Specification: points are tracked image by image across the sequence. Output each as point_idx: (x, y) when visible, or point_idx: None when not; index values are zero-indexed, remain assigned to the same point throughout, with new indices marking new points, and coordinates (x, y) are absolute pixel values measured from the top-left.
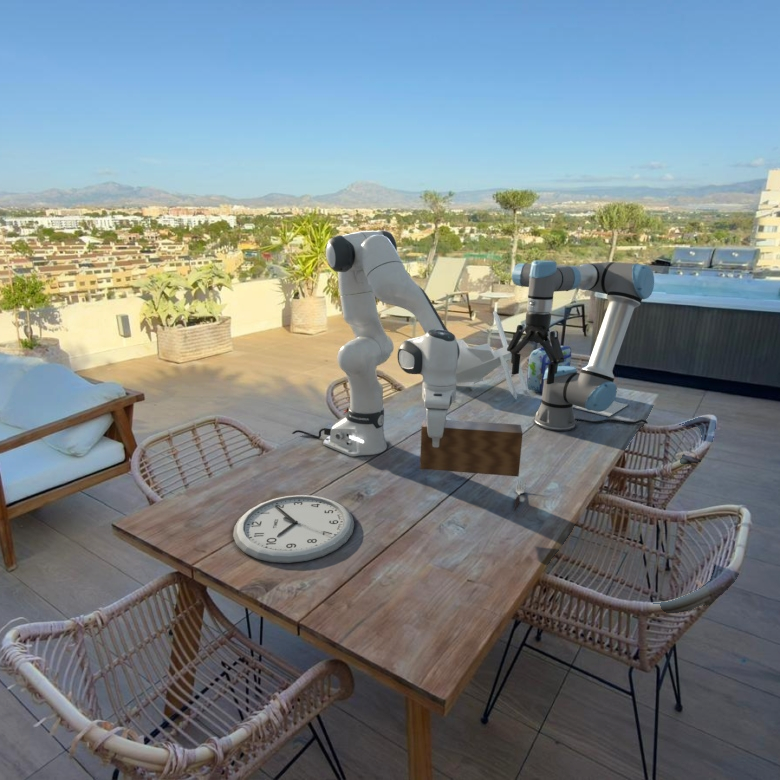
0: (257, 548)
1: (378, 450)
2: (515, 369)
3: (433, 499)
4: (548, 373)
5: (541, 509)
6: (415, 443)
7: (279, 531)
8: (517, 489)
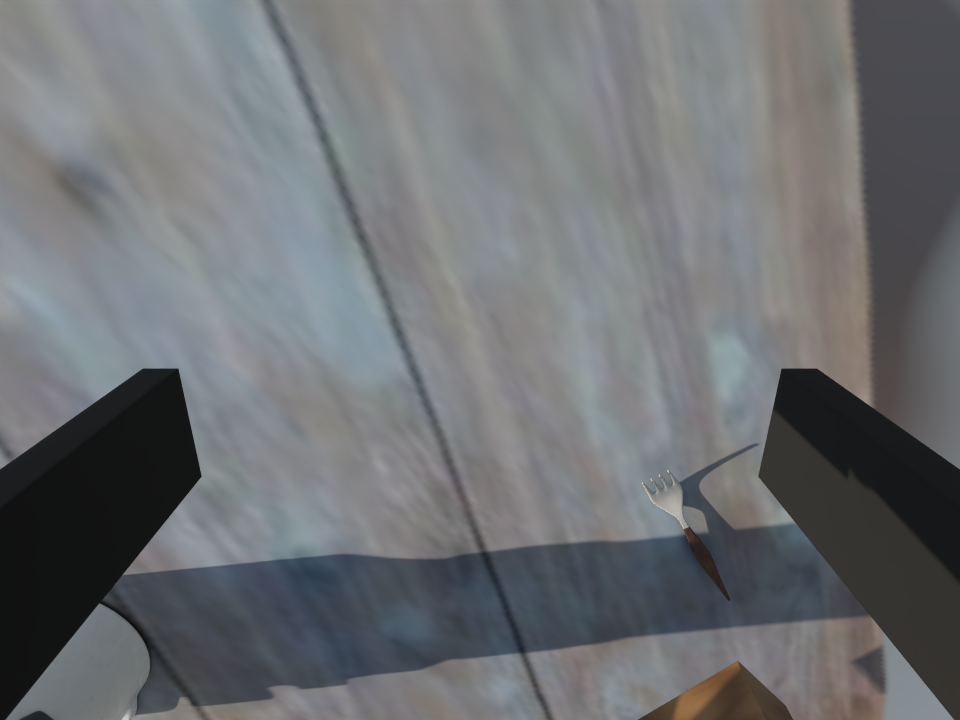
0: None
1: (139, 659)
2: (157, 489)
3: (512, 694)
4: (864, 585)
5: (778, 523)
6: None
7: None
8: (656, 497)
